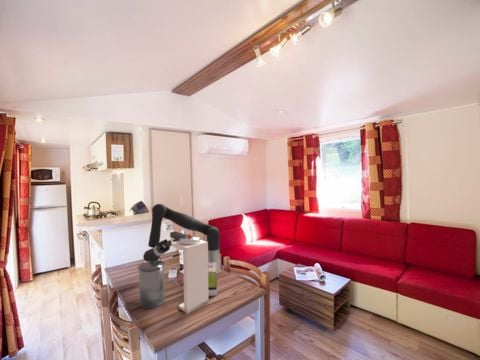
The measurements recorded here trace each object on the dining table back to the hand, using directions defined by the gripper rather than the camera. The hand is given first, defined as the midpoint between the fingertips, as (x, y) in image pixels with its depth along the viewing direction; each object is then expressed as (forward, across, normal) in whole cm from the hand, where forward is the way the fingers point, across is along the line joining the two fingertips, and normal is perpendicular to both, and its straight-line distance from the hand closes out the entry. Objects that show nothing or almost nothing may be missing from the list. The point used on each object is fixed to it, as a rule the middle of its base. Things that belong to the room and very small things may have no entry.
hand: (172, 239), depth 137 cm
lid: (+10, -1, -4) cm, 11 cm away
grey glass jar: (-17, +14, -28) cm, 36 cm away
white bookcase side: (-2, 0, -37) cm, 37 cm away
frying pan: (-61, -22, -3) cm, 65 cm away
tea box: (-6, -17, -35) cm, 39 cm away
